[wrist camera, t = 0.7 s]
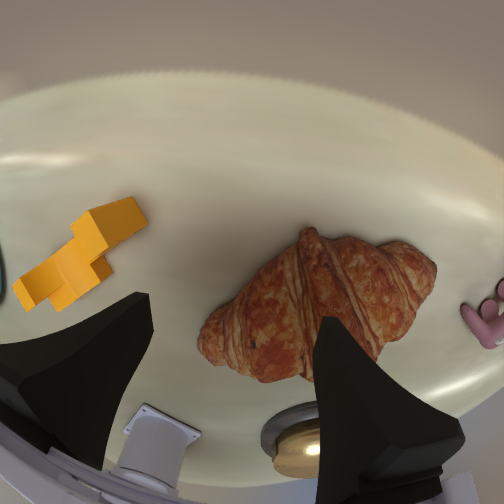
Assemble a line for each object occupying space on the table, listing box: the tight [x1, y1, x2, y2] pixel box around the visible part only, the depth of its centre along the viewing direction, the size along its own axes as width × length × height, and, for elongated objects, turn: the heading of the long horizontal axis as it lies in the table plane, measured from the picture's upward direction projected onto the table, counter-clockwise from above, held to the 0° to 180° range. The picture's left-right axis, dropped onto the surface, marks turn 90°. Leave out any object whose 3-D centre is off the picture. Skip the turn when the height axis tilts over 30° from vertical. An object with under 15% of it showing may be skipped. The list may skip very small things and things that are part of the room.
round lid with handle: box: [272, 419, 320, 478], centre depth 23 cm, size 10×10×7 cm
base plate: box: [261, 401, 319, 457], centre depth 27 cm, size 13×13×1 cm
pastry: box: [197, 227, 437, 383], centre depth 19 cm, size 17×15×8 cm
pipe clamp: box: [12, 197, 148, 312], centre depth 19 cm, size 12×4×6 cm, turn 119°
